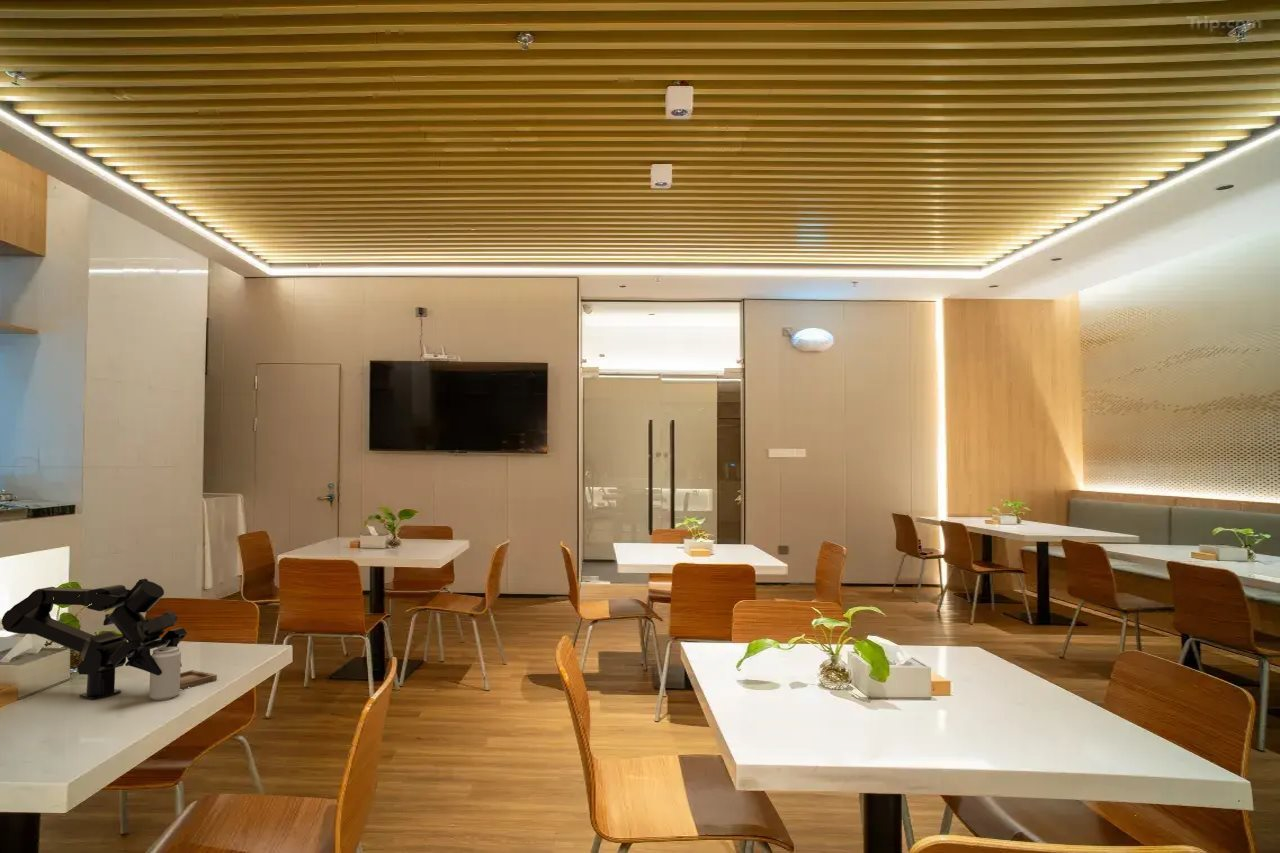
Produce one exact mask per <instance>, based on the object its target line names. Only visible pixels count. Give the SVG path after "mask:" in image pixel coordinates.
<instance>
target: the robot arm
mask: <svg viewBox="0 0 1280 853" xmlns="http://www.w3.org/2000/svg"><path fill="white" fill-rule="evenodd" d="M96 593H97V594H96ZM79 595H80V596H79ZM164 595H165V591H164V588H163V587H162V586H161V585H159V584H158V583H155V582H153V581H149V580H148V579H147V578H141V579H139V580H138V581H137V582H136V583H135V585H134V586H133V587H132V588H131V589H129V588H128V589H127V588H126V586H125V585H123V584H116V585H110V586H105V587H97V588H75V587H73V588H70V587H69V588H68V587H56V586H50V587H42V588H37V589H35V590H33V591H32V592H31V593H30V594H29V595H28V596H26V598H25V597H24V598H23V599H22V600H21V601H19V602H18V603H16V604H14V605H13V606H12V607H11V608H10V609H8V610H7V611H5V612H4V614H3V616H2V619H1V625H2V628H3V630H4V631H6V632H9V633H12V634H13V633H14V634H20V635H36V636H38V637H41V638H43V639H45V640H48V641H51V642H54V643H55V644H58V645H60V646H63V647H65V648H67V649H70V650H72V651H75V652H77V653H80V654H81V655H80V656H82V661H81V662H79V663H78V665H76V668H77V672H78V675H86V678H87V679H86V692H85V693H80V694H79V697H81V698H85V699H90V700H96V699H101V698H104V697H109V696H112V695H116V694H120V693H122V690H120V689H116V686H115V685H116V668H118V667H123V666H124V664H125V666H126V667H131V668H136V669H140V670H141V671H145V672H147V673H149V674H150V673H152V674H155V675H158V676H159V675H161V674H162V671H161V669H160V668H159V666H158V665H157V663H156V662H155V660H154V659H153V658H152V656H151V655H152V654H151V650H152V649H153V650H154V649H155V648H156V649H158V648H164V647H178V645H179V644H180V643H181V641H182V640H184V639H185V637H186V636H187V635H188V632H187V631H186V630H185V628H184V627H177V628H173V629H170V630H168V631H167V632H166V633H165V630H166V629H168V628H170V627H173V626H175V625H176V622H178V620H179V618H178V615H177V614H176V613H175V612H174V611H173V610H169V611H166V612H165V613H162V615H159V616H156V617H155V618H154V617H153V618H147V619H146V617H145V616H144V615H143V614H142V613H146V612H149V610H151V609H152V607H154V606H155V604H156V603H157V602H158V601H159V600H161V598H162V597H163V596H164ZM78 596H79V597H78ZM53 597H54V600H53ZM91 603H92V605H90V606H88V605H89V604H91ZM54 605H66V606H67V605H69V606H74V605H75V606H82V607H86V606H88V607H86V608H87V609H88V610H92V611H95V612H96V611H97V612H105V611H107V610H108V611H109V610H112V609H113V610H112V611H111V613H106V614H105V616H104V617H105V618H104V620H103V623H102V624H103V626H109V625H114V626H115V627H116V628H117V629H118V631H119V632H120V633H121V634H122V636H121V635H120V636H119V635H116V634H115V633H113V632H112V631H108V632H103V633H100V634H96V635H95V634H94V635H93V634H91V633H90V632H86V631H84V630H81V629H80V628H76V627H75V626H72V625H70V624H69V625H68V624H66V623H64V622H62V621H60V620H57V619H54V618H53V617H52V615H51V614H50V613H51V612H52V611H53V608H54ZM163 634H164V635H163ZM160 636H162V637H160ZM126 661H127V662H126ZM182 666H183V665H182V663H181V667H182Z"/></svg>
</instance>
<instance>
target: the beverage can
mask: <svg viewBox="0 0 1280 853" xmlns="http://www.w3.org/2000/svg"><path fill="white" fill-rule="evenodd" d="M150 655H151V656H152V658H153V659H154V660H155V662H156V663H157V665H158V666H159V668H160V669H161V671H162V674H161V675H159V676H158V675H155V674H152V673H150V672H149V688H148V689H149V692H148V693H149V695H148V696H149V698H150V699H151V700H153V701H166V700H169V699H170V698H171V699H173V698H175V697H177V696H178V695H179V694H180V692H181V690H180V673H181V667H182V666H181V664H182V662H181V661H182V651H180V647H179V646H177V647H164V648H156V649H155V648H154V649H153V650H152V653H151V654H150ZM172 697H173V698H172Z"/></svg>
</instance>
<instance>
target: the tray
mask: <svg viewBox="0 0 1280 853" xmlns="http://www.w3.org/2000/svg"><path fill="white" fill-rule="evenodd" d="M217 677H218V675H217V674H214V673H208V672H204V671H199V670H194V669H192V670H191V669H190V670H187V671H183V672H180V689H183V690H185V689H184V688H187V689H189V688H188V687H191V688H194V687H198V686H201V684H202V685H205V683H206V684H209V683H213V682H216V680H218V678H217ZM212 681H213V682H212ZM208 682H209V683H208ZM197 685H198V686H197ZM193 686H194V687H193Z"/></svg>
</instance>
